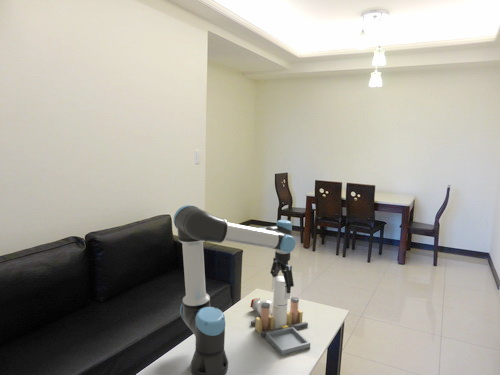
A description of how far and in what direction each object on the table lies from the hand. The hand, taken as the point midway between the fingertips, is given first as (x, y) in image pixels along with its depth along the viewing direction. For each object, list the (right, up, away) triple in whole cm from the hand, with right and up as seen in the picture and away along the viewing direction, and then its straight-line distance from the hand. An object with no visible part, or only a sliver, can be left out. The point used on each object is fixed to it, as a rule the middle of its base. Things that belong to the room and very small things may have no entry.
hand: (280, 293), depth 173 cm
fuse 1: (-8, -17, -1) cm, 19 cm away
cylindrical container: (-1, -17, +2) cm, 17 cm away
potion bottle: (-9, -16, +13) cm, 22 cm away
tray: (+2, -19, -12) cm, 23 cm away
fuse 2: (+7, -17, +6) cm, 19 cm away
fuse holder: (-1, -17, +2) cm, 17 cm away
